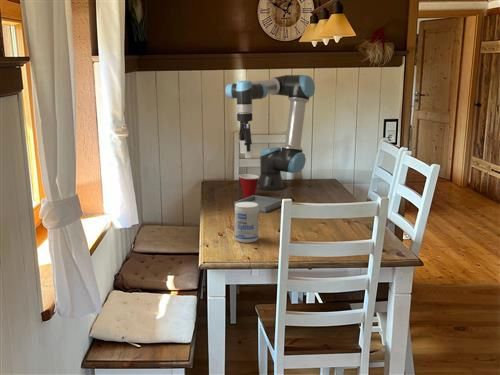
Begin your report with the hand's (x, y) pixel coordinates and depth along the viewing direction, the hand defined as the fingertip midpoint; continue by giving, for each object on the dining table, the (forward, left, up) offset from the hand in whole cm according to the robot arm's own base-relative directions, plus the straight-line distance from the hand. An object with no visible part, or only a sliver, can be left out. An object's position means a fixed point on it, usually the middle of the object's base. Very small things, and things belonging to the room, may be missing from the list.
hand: (245, 155), depth 268 cm
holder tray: (0, +8, -25) cm, 26 cm away
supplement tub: (+48, +32, -25) cm, 63 cm away
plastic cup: (-14, -7, -25) cm, 29 cm away
